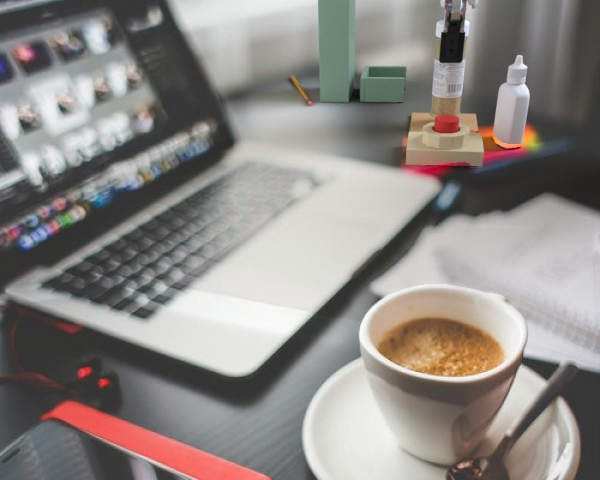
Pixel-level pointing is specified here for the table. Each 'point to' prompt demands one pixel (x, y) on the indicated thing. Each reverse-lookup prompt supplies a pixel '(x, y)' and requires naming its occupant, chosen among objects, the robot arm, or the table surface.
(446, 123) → the button
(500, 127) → the eye dropper bottle
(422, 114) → the cork mat
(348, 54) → the dock machine
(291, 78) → the pencil
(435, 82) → the sprinkles bottle
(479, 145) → the button box
